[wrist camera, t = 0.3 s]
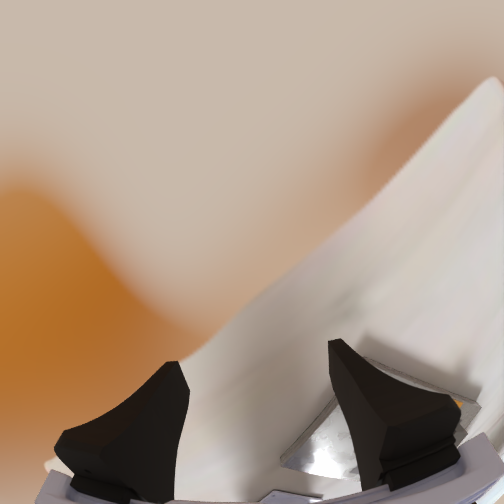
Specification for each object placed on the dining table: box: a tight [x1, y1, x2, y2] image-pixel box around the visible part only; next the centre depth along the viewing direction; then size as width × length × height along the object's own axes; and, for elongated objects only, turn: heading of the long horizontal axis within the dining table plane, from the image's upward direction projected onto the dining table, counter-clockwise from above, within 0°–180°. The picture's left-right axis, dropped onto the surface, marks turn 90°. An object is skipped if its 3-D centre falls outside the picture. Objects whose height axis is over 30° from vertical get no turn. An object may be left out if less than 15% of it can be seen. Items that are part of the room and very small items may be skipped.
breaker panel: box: [281, 357, 482, 481], centre depth 24 cm, size 15×22×2 cm
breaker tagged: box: [453, 423, 468, 447], centre depth 21 cm, size 2×3×3 cm
